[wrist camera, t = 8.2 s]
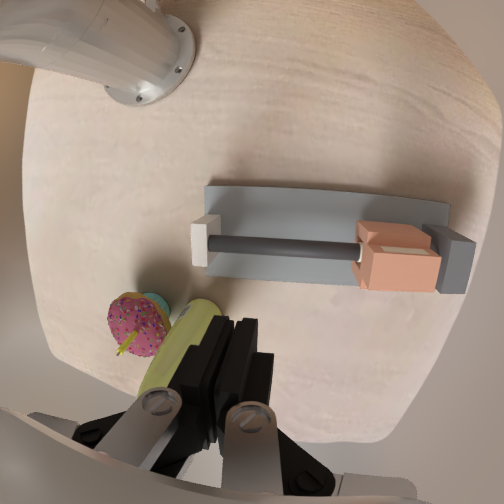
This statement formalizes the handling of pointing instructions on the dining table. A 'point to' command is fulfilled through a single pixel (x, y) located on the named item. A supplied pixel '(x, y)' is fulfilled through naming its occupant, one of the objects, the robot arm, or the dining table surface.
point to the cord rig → (314, 234)
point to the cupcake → (139, 322)
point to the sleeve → (395, 258)
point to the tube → (179, 342)
